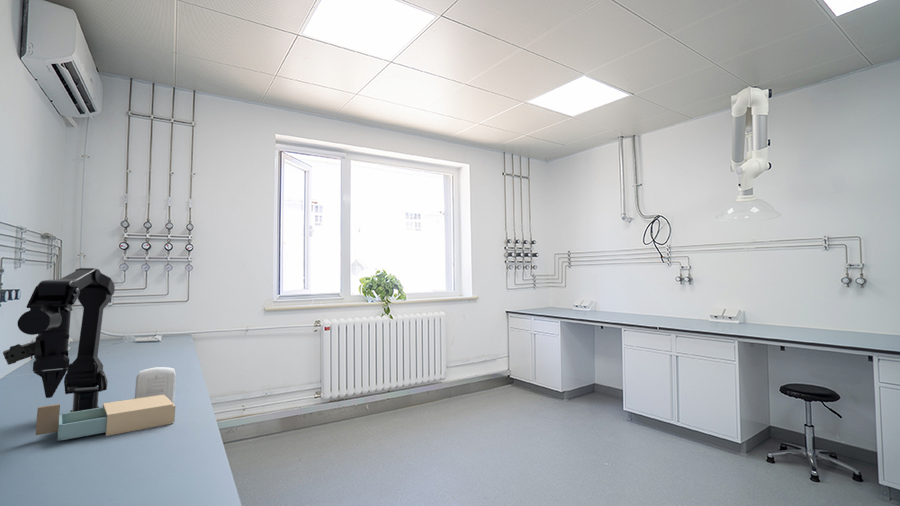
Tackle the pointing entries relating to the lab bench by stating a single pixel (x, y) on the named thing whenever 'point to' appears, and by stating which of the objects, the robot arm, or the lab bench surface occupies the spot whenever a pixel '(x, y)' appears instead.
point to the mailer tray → (70, 422)
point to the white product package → (156, 383)
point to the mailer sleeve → (138, 414)
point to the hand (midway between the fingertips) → (49, 394)
